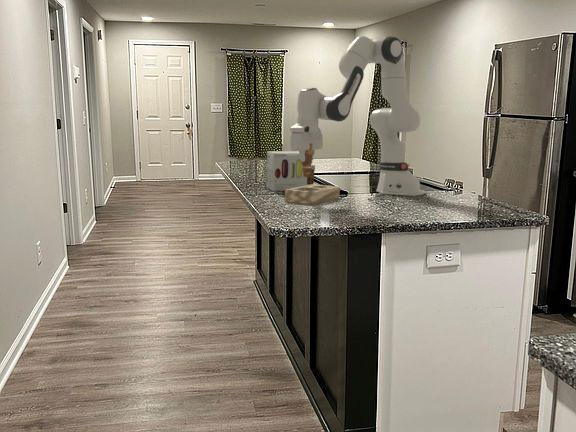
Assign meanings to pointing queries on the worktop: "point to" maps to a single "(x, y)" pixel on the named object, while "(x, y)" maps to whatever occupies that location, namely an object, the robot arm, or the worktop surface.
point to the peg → (307, 162)
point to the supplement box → (284, 170)
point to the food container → (311, 176)
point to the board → (312, 194)
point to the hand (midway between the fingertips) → (306, 161)
